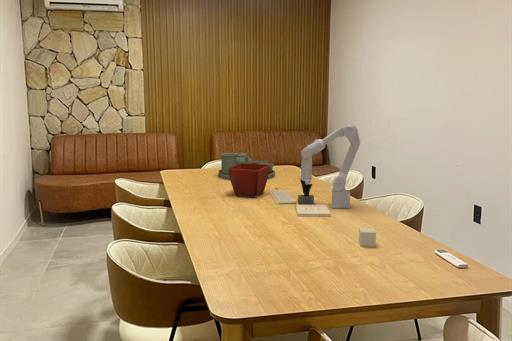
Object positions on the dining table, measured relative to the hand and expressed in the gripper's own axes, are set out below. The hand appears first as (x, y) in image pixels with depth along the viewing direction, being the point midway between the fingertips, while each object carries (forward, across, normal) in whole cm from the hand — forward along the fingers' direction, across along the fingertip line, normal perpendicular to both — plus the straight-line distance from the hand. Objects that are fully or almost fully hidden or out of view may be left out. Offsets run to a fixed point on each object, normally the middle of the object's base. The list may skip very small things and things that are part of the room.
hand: (305, 194), depth 263 cm
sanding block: (+6, 0, 0) cm, 6 cm away
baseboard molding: (+6, -16, -13) cm, 21 cm away
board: (+5, +15, +2) cm, 16 cm away
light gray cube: (+6, +65, +19) cm, 68 cm away
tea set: (+6, -82, -34) cm, 89 cm away
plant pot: (+6, -23, -31) cm, 39 cm away
